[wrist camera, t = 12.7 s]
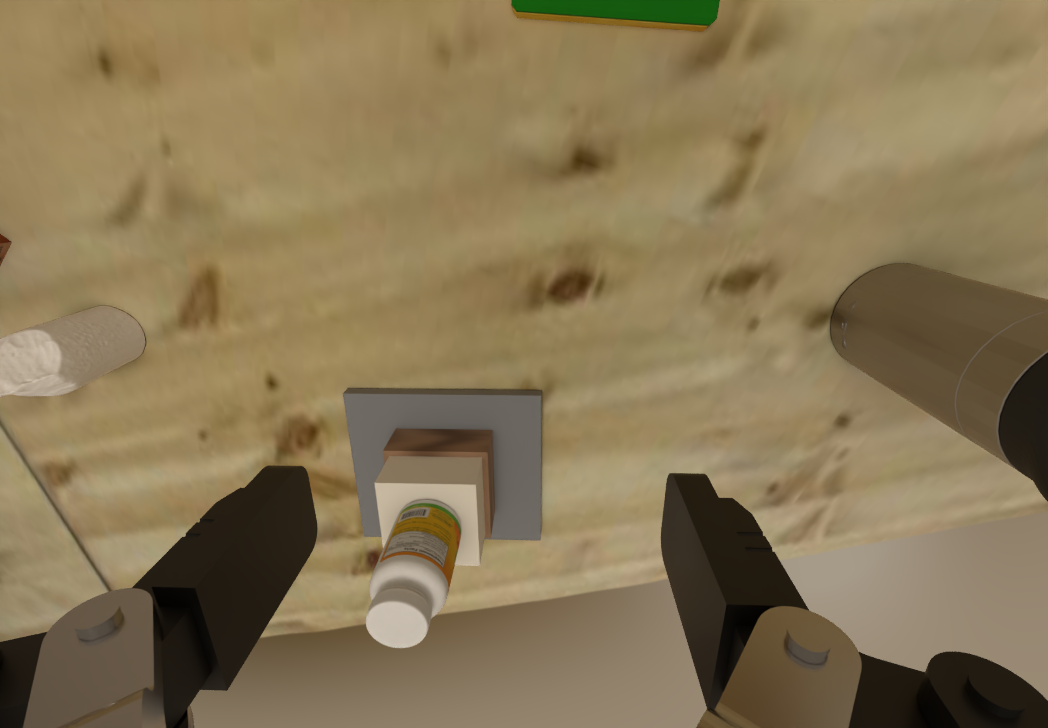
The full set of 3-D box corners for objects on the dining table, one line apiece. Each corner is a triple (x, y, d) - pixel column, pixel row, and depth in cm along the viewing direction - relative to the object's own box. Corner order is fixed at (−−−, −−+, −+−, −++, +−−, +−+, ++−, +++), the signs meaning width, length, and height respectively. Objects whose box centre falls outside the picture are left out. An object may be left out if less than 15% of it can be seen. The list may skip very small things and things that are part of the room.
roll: (13, 360, 34) (26, 432, 36) (144, 312, 45) (149, 369, 47) (-78, 342, 34) (-59, 416, 36) (76, 299, 45) (84, 357, 47)
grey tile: (541, 390, 46) (541, 395, 45) (540, 532, 52) (540, 540, 51) (347, 388, 47) (342, 393, 46) (368, 528, 53) (364, 536, 52)
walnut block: (492, 429, 47) (487, 452, 43) (494, 510, 50) (490, 538, 46) (395, 428, 47) (382, 450, 43) (404, 508, 50) (393, 536, 47)
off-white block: (481, 457, 43) (475, 484, 39) (485, 533, 46) (479, 565, 42) (389, 455, 44) (374, 482, 40) (398, 531, 46) (385, 563, 43)
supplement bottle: (441, 562, 42) (412, 669, 33) (384, 531, 41) (339, 632, 32) (475, 519, 41) (454, 619, 32) (417, 486, 40) (379, 579, 31)
